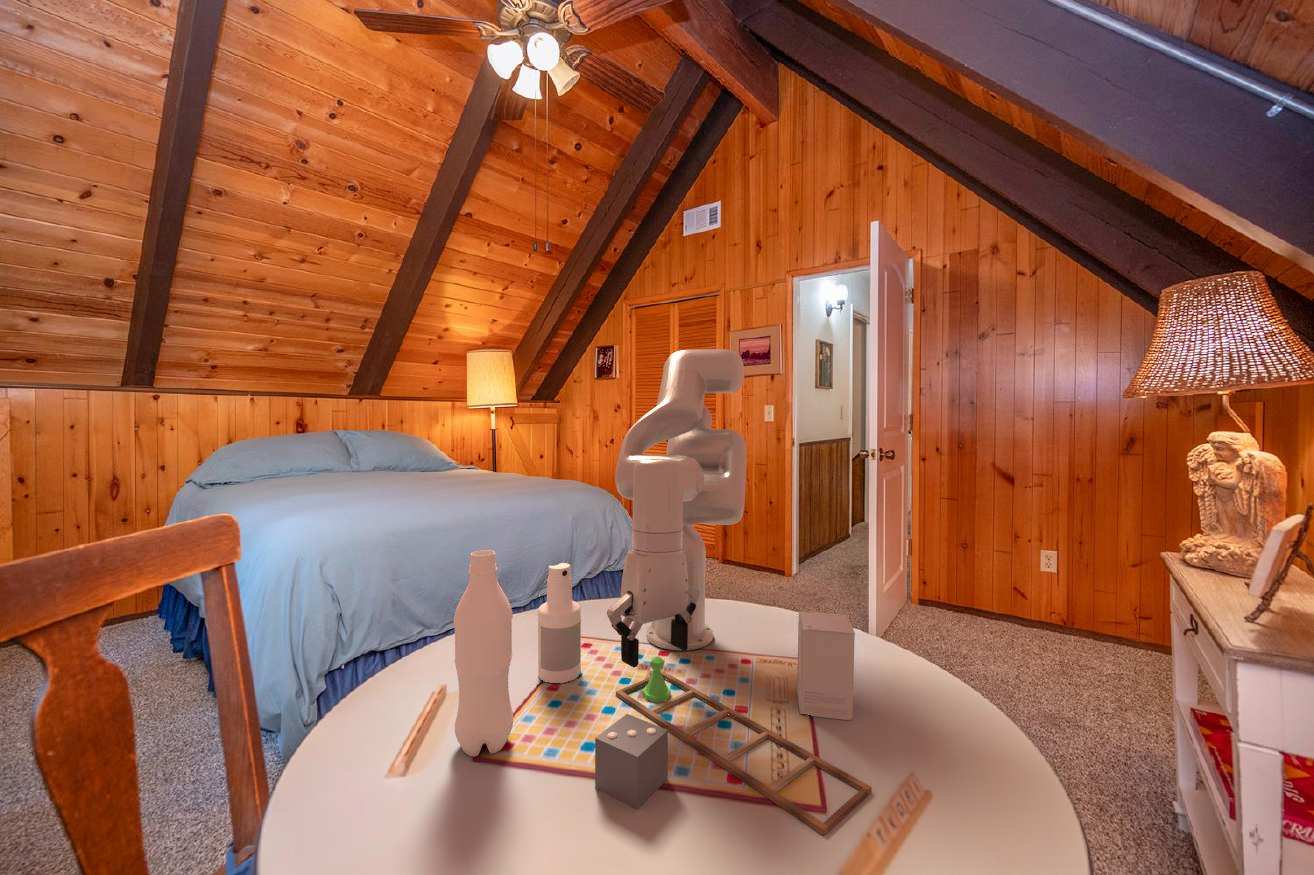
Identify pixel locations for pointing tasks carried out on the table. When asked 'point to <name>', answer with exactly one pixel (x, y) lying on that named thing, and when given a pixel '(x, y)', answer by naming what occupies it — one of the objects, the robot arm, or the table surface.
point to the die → (631, 760)
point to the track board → (764, 734)
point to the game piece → (656, 683)
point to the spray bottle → (559, 629)
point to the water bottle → (483, 659)
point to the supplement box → (825, 665)
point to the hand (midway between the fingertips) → (655, 655)
